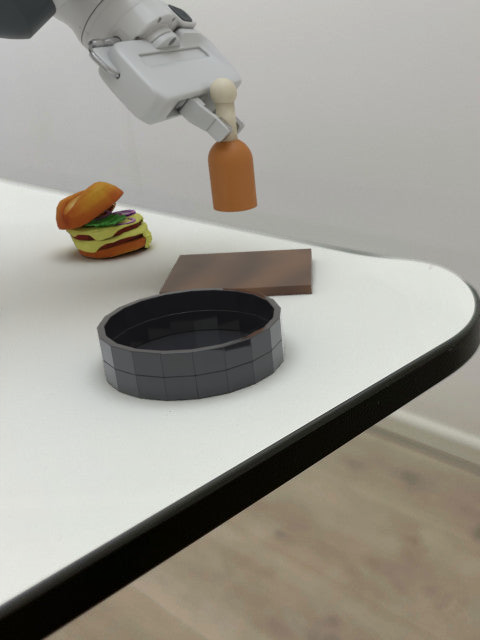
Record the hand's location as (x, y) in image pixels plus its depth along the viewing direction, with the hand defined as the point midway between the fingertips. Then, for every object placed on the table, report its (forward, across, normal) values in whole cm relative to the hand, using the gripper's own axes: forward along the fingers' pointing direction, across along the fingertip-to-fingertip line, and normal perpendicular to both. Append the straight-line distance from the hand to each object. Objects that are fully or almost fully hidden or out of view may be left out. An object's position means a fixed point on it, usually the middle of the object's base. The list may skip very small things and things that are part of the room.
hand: (233, 134), depth 81 cm
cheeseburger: (-5, +9, +28) cm, 30 cm away
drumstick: (+5, 0, +6) cm, 8 cm away
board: (+11, 0, +12) cm, 16 cm away
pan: (+14, -23, +8) cm, 28 cm away
